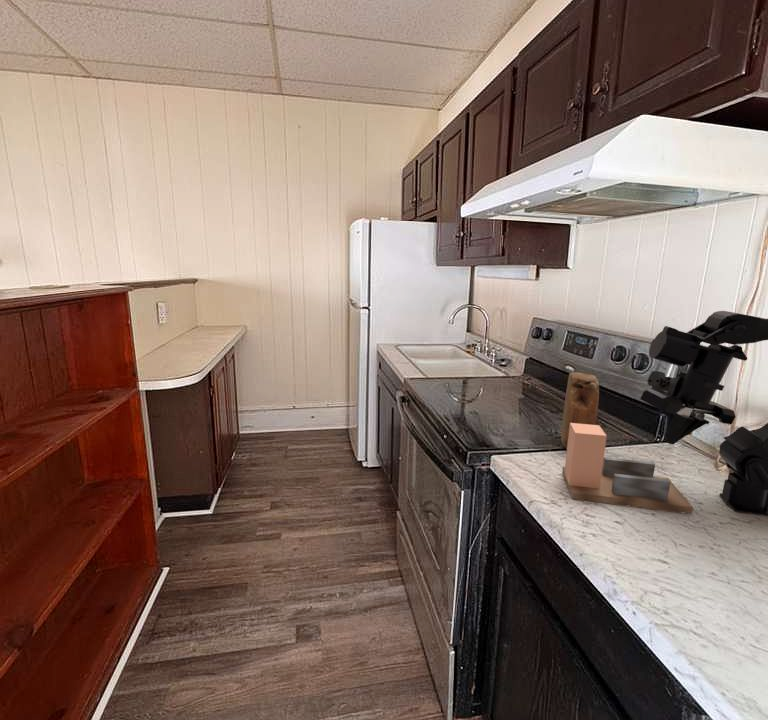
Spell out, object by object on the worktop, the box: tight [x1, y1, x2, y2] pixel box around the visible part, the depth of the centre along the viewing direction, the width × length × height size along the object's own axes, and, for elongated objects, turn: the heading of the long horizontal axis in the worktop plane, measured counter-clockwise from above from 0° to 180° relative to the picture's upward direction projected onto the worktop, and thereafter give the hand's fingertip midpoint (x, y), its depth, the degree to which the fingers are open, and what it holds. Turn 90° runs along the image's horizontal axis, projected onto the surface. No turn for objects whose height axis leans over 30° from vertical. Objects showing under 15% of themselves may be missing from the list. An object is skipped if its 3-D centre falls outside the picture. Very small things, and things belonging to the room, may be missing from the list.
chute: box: [562, 456, 694, 514], centre depth 90 cm, size 22×12×6 cm, turn 77°
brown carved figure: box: [560, 371, 600, 450], centre depth 111 cm, size 11×8×20 cm
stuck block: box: [564, 423, 607, 489], centre depth 91 cm, size 6×6×12 cm
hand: (669, 443), depth 87 cm, fingers closed
